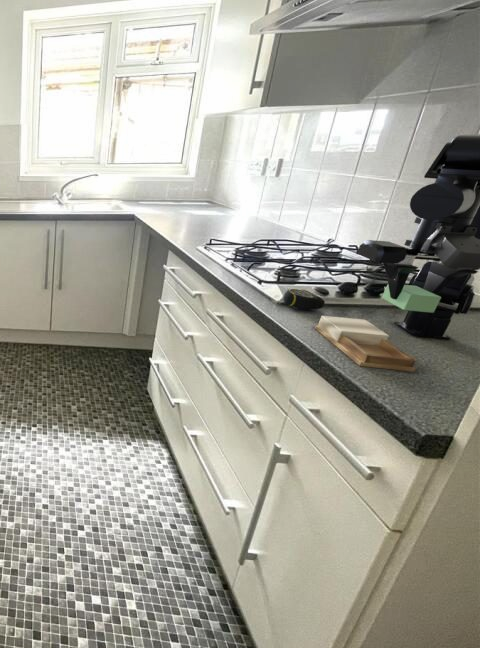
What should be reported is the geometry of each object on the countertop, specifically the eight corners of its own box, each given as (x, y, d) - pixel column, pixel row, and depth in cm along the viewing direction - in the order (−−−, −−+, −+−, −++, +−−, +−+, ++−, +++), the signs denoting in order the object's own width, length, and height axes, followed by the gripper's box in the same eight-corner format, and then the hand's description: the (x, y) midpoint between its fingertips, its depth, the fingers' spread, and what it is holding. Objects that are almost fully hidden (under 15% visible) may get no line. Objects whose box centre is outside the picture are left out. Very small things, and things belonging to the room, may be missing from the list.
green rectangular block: (381, 297, 80) (387, 283, 79) (409, 300, 79) (416, 285, 78) (403, 309, 75) (410, 294, 73) (433, 312, 74) (441, 297, 73)
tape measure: (322, 313, 98) (328, 298, 97) (292, 312, 99) (298, 297, 97) (303, 302, 105) (308, 288, 103) (275, 301, 105) (279, 287, 104)
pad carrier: (314, 328, 91) (319, 315, 90) (359, 332, 89) (365, 319, 88) (359, 365, 77) (366, 350, 75) (414, 371, 75) (421, 356, 74)
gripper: (418, 220, 65) (377, 311, 71) (568, 229, 61) (512, 324, 67) (372, 208, 75) (340, 289, 81) (499, 215, 71) (456, 299, 77)
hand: (408, 300), depth 77 cm, fingers closed on green rectangular block, 4 cm apart
